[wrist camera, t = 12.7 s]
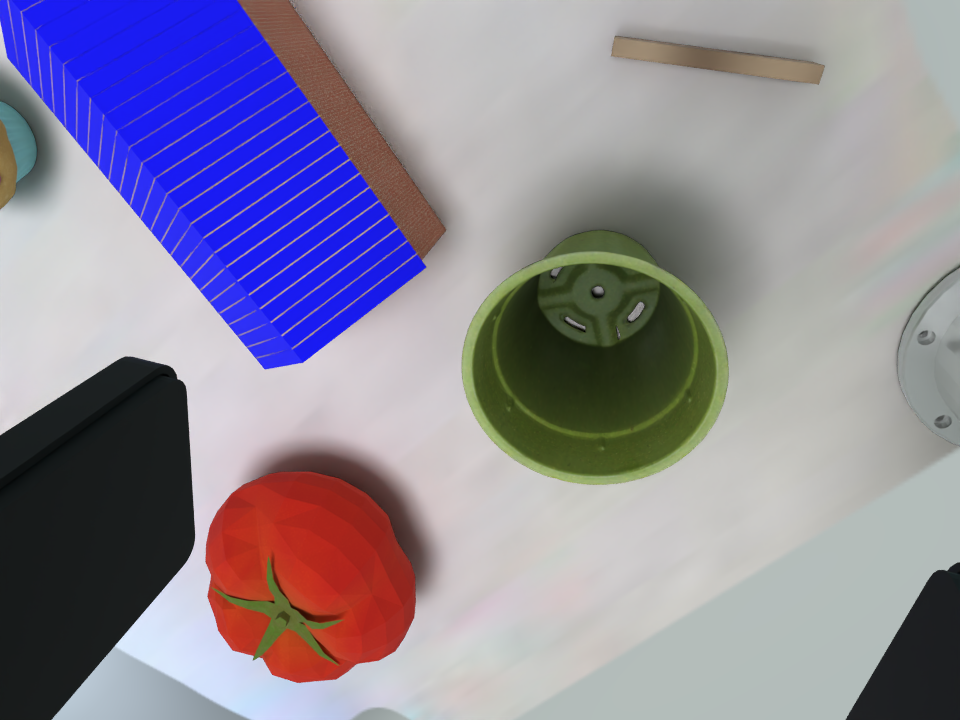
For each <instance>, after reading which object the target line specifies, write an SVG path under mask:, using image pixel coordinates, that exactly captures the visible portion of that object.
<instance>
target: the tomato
mask: <svg viewBox="0 0 960 720" xmlns="http://www.w3.org/2000/svg"><path fill="white" fill-rule="evenodd" d="M206 564H207V566H208V569H209V571H210V573H211V581H210V586H209V591H208V596H207V597H208V599H209V602H210V605H211V608H212V610H213V613H214V616H215V619H216V623H217V627H218V631H219V632H220V634H221V635H222V636H223V638H224V639H225V641H226V642H227V643H228V645H229V646H230V647H231V649H232V650H233V651H237V652H241V653H245V654H248V655H252V656H254V658H253V660H255V659H257V658H258V657H260V658H263V660H264V662H265V663H266V665H267V667H268V668H269V670H270V672H271V673H272V675H274V676H278V677H281V678H284V679H287V680H290V681H293V682H297V683H301V682H312V681H323V680H335V679H337V678H339V677H340V676H342V675H343V674H345V673H346V672H348V671H349V670H350V669H351V668H353V667H354V666H355V665H356V664H358V663H365V662H372V661H379V660H381V659H382V658H384V657H386V656H388V655H389V654H391V653H393V652H395V651H396V649H397V648H398V646H399V645H400V643H401V642H402V641H403V639H404V638H405V635H406V633H407V631H408V629H409V627H410V625H411V623H412V621H413V619H414V614H415V603H416V595H415V574H414V571H413V568H412V565H411V562H410V561H409V559H408V558H407V556H406V555H405V553H404V552H403V550H402V549H401V547H400V546H399V544H398V543H397V540H396V538H395V535H394V532H393V529H392V526H391V523H390V520H389V517H388V515H387V514H386V513H385V512H384V511H383V510H382V509H381V508H380V507H379V506H378V505H377V504H376V503H375V502H374V500H373V499H372V498H371V497H370V496H369V495H368V494H367V493H365V492H363V491H361V490H359V489H358V488H356V487H354V486H352V485H351V484H349V483H347V482H345V481H343V480H342V479H340V478H336V477H331V476H327V475H323V474H319V473H315V472H278V473H272V474H268V475H266V476H263V477H261V478H259V479H256V480H254V481H251V482H249V483H247V484H244V485H243V486H241V487H240V488H238V489H237V490H236V491H234V492H233V493H232V494H231V495H230V496H229V498H228V499H227V500H226V501H225V503H224V504H223V505H222V506H221V508H220V509H219V510H218V511H217V513H216V515H215V517H214V519H213V521H212V523H211V525H210V529H209V533H208V538H207V542H206Z"/></svg>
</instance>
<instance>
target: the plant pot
mask: <svg viewBox="0 0 960 720" xmlns="http://www.w3.org/2000/svg"><path fill="white" fill-rule="evenodd" d="M563 266H564V267H563ZM559 267H563V268H562V269H561V271H560V272H559V273H558V275H557V278H556V280H555V279H553V278H551V277H550V273H551V271H552V270H553V269H555V268H559ZM554 281H555V282H554ZM596 286H600V287H602V288H603V289H604V294H603V296H602V297H600V298H595V297H594V296H592V292H591V291H592V289H593V288H594V287H596ZM639 302H643V303H644V305H645V308H644V310H643V311H642V313H641V314H640V316H639V317H638V318H637V319H636V320H635V321H633V322H631V323H630V322H628V321H627V317H628V316H629V315H630V314H631V313H632V312H633V310H634V309H635V307H636V305H637V304H638V303H639ZM565 317H569V318H570V319H571V320H573V321H575V322H577V323H578V324H580V325H583V326H585V328H586V329H585V332H586V333H585V332H583V331H581V330H579V329H575V328H573V327H571V326H570V325H568V324H567V323H565V322H564V318H565ZM616 326H617V327H618V329H619V333H620V339H617V338H618V337H617V333H616ZM728 376H729V369H728V357H727V351H726V346H725V343H724V339H723V336H722V334H721V331H720V329H719V327H718V325H717V323H716V321H715V319H714V317H713V316H712V314H711V312H710V311H709V309H708V308H707V307H706V305H705V304H704V303H703V301H702V300H701V299H700V298H699V297H698V296H697V295H696V293H695V292H694V291H693V290H691V289H690V288H689V287H688V286H687V285H686V284H685V283H683V282H682V281H681V280H680V279H678V278H677V277H675V276H674V275H672V274H671V273H669V272H668V271H666V270H664V269H662V268H660V267H659V266H658V265H657V263H656V262H655V261H654V259H653V258H652V257H651V255H650V254H649V253H648V252H647V251H646V250H645V248H644V247H643V246H641V245H640V244H639V243H637V242H636V241H635V240H633V239H632V238H630V237H627V236H625V235H623V234H620V233H616V232H612V231H605V230H594V231H589V232H584V233H580V234H577V235H574V236H571V237H569V238H567V239H565V240H564V241H562V242H561V243H560V244H558V245H557V246H556V247H555V248H554V249H553V250H552V251H551V252H550V253H549V254H548V255H547V256H546V257H545V258H544V259H543V260H541V261H538V262H536V263H533V264H531V265H529V266H527V267H525V268H523V269H521V270H520V271H518V272H516V273H515V274H513V275H512V276H510V277H509V278H508V279H506V280H505V281H504V282H502V283H501V284H500V285H499V286H498V287H497V288H496V289H495V290H494V291H493V292H491V294H490V295H489V296H488V297H487V298H486V299H485V301H484V302H483V303H482V305H481V306H480V307H479V309H478V311H477V312H476V314H475V316H474V318H473V320H472V322H471V324H470V326H469V329H468V331H467V335H466V338H465V342H464V347H463V353H462V379H463V385H464V390H465V393H466V397H467V400H468V402H469V405H470V407H471V409H472V412H473V414H474V416H475V418H476V420H477V421H478V423H479V424H480V426H481V427H482V429H483V430H484V432H485V433H486V434H487V435H488V437H489V438H490V439H491V440H492V441H493V442H494V443H495V444H496V445H497V446H498V447H499V448H500V449H501V450H503V451H504V452H505V453H506V454H508V455H509V456H510V457H511V458H513V459H514V460H516V461H517V462H519V463H521V464H522V465H524V466H526V467H528V468H530V469H531V470H533V471H535V472H538V473H540V474H542V475H545V476H548V477H552V478H557V479H559V480H563V481H567V482H572V483H579V484H590V485H607V484H618V483H625V482H629V481H633V480H637V479H641V478H644V477H647V476H650V475H653V474H655V473H658V472H660V471H662V470H664V469H666V468H668V467H670V466H671V465H673V464H675V463H676V462H678V461H679V460H680V459H682V458H683V457H684V456H686V455H687V454H688V453H690V452H691V451H692V450H693V449H694V448H695V447H696V446H697V445H698V444H699V443H700V442H701V441H702V440H703V439H704V437H705V436H706V435H707V433H708V432H709V431H710V429H711V428H712V426H713V425H714V423H715V421H716V419H717V417H718V415H719V413H720V411H721V408H722V406H723V403H724V399H725V395H726V391H727V386H728Z"/></svg>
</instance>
